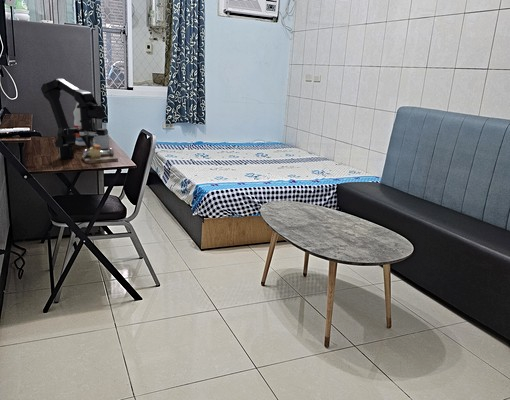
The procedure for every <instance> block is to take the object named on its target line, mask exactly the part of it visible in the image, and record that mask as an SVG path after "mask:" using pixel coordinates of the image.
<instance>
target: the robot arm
mask: <svg viewBox="0 0 510 400" xmlns="http://www.w3.org/2000/svg"><path fill="white" fill-rule="evenodd" d="M40 90H41V93H42V95H43V97H44V98H45V99H46V101H48V102H49V105H50V107H51V110H52V113H53V116H54V120H55V122H56V125H57V128H58V130H57V133H56V134H57V139H56V141H55V142H54V146H55V147H56V148H58V152H59V153H58V154H59V156H58V157H59V159H60V160H67V159H74V158H75V151H74V150H75V149H74V148H73V147H75V146H76V134H75V133H79V134H80V135H79V137H81V138H82V139H83V141H84V142H85V144H86V145H85V146H86V148H87V150H89V149H90V148H91V147H92V145H91V144H92V143H93V138H94V137H95V136H97V135H98V136H105V135H107V134H108V135H109V132H108V129H107V128H98V123H96V122H95V120H103V119H105V116H106V111H105V110H104V108H103V107H102V105H101V104H98V102H97V101H96V99H95V97H94V94H93V93H92V92H90V91H88V90H83V89H81V88H78V87H77V86H75V85H73V84H72V83H70V82H69V81H66V80H65V79H64V78H55V79H53V80H51V81H49V82H46V83H43V84H42V86H41V87H40ZM61 91H64V92H65V93H67V94H69V95H70V96H72V97H73V99H74V101H76V103H77V102H78V103H79V105H78V106H77V108H80V118H81V120H80V122H81V130H79V128H74V127H70V126H69V124H68V120H67V118H66V116H65V112H64V109H63V106H62V103H61V100H60V98H61ZM87 133H88V134H87Z"/></svg>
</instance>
